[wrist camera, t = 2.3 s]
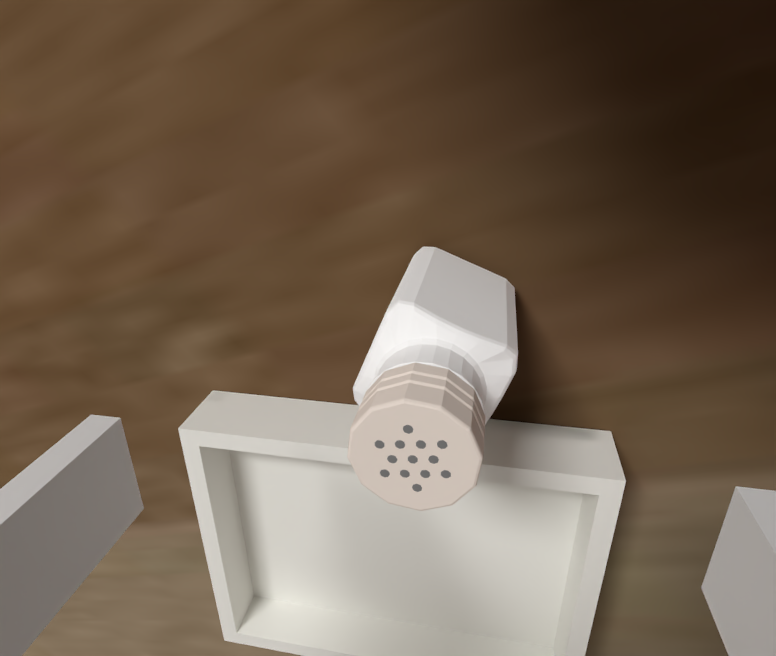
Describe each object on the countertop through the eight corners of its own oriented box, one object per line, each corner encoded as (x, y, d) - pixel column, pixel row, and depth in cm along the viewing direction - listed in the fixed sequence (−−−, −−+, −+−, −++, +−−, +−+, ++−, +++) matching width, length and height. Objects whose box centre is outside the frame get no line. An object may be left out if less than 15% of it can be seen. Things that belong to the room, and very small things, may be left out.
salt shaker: (384, 323, 22) (308, 482, 13) (422, 235, 20) (363, 356, 11) (473, 363, 22) (455, 548, 13) (520, 279, 20) (534, 432, 11)
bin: (212, 390, 25) (178, 428, 22) (610, 431, 22) (625, 481, 19) (248, 591, 31) (224, 640, 28) (566, 646, 28) (572, 707, 25)
